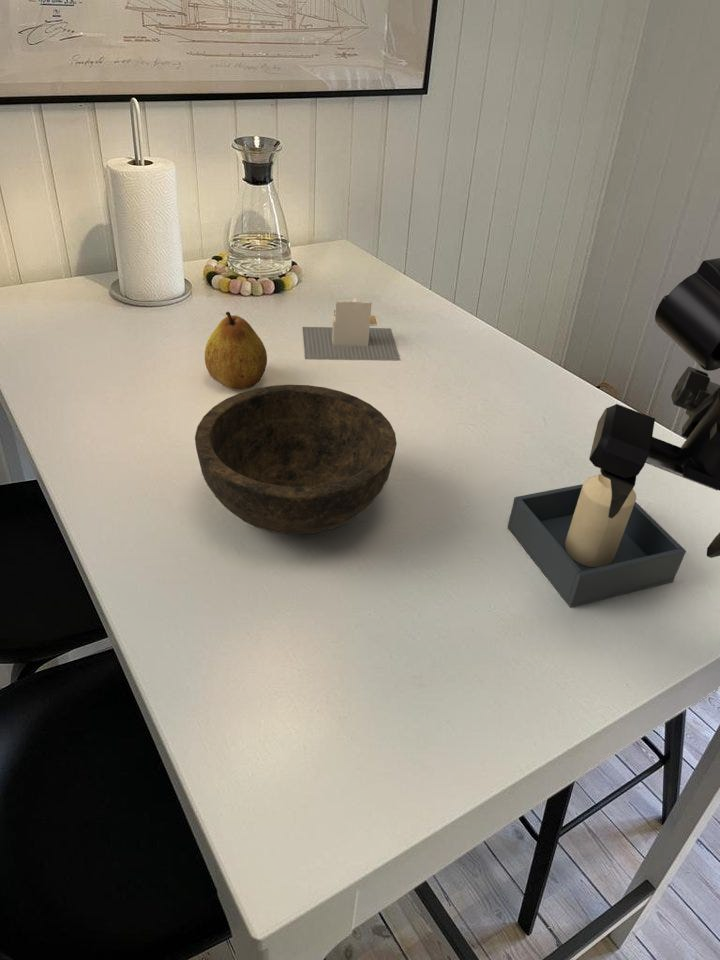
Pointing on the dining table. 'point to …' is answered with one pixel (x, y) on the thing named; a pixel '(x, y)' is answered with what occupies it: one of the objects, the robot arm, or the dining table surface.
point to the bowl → (295, 456)
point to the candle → (597, 524)
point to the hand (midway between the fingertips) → (659, 533)
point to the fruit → (235, 354)
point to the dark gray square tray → (635, 566)
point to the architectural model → (350, 336)
